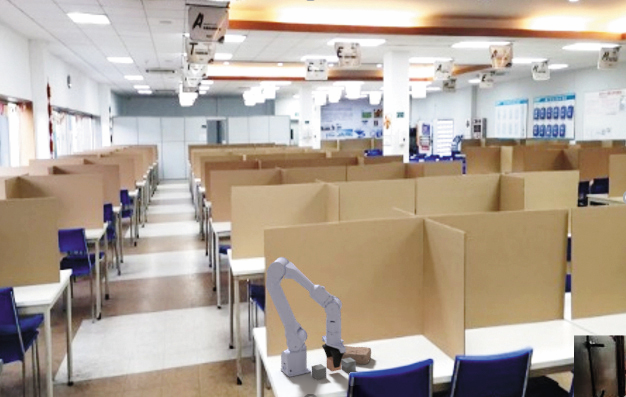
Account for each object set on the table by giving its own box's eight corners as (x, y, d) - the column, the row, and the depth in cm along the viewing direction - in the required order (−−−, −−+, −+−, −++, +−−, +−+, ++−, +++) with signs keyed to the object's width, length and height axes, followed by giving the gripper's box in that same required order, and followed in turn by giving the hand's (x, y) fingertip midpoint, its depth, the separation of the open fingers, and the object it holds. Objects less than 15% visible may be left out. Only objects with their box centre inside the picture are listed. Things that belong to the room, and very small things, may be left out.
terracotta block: (331, 371, 210) (331, 361, 209) (326, 367, 213) (326, 357, 213) (341, 369, 212) (340, 359, 211) (335, 365, 215) (335, 355, 215)
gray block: (316, 380, 207) (316, 369, 206) (311, 376, 210) (311, 366, 210) (326, 378, 209) (326, 367, 208) (321, 374, 212) (320, 364, 212)
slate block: (346, 373, 213) (346, 363, 212) (341, 369, 216) (341, 359, 216) (355, 371, 215) (355, 360, 214) (350, 367, 218) (350, 357, 218)
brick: (326, 361, 225) (326, 350, 224) (332, 353, 233) (332, 343, 232) (367, 366, 220) (367, 354, 219) (371, 358, 228) (371, 347, 227)
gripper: (352, 334, 206) (352, 369, 208) (333, 323, 219) (333, 356, 220) (336, 337, 203) (336, 373, 204) (317, 326, 216) (317, 360, 217)
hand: (333, 365), depth 212 cm, fingers closed on terracotta block, 4 cm apart
